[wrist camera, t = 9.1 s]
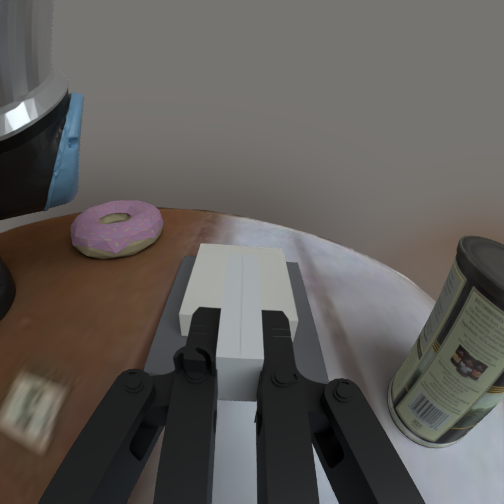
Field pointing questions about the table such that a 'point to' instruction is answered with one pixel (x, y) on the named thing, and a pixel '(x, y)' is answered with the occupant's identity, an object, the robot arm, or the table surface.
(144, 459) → the robot arm
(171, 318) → the mat
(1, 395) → the table surface
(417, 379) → the coffee can
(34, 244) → the table surface
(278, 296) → the tile
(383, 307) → the table surface
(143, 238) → the donut
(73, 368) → the table surface
